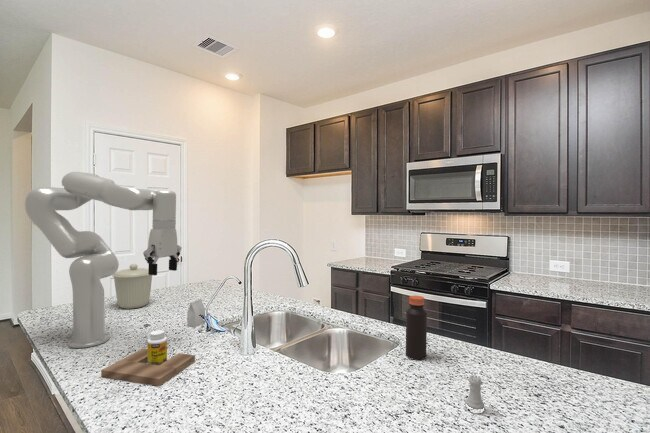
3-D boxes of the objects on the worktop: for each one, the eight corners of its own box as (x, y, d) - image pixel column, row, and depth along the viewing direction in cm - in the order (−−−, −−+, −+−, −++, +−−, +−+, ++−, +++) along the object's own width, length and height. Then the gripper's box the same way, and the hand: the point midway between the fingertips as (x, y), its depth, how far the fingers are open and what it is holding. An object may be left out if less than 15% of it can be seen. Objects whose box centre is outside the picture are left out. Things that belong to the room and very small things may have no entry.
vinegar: (427, 354, 118) (428, 296, 118) (424, 362, 112) (425, 300, 112) (407, 350, 121) (408, 293, 121) (403, 358, 115) (404, 298, 114)
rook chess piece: (461, 404, 88) (462, 373, 88) (478, 403, 88) (479, 373, 88) (470, 415, 84) (471, 382, 83) (488, 414, 84) (489, 381, 84)
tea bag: (204, 322, 149) (204, 299, 149) (195, 327, 143) (194, 303, 143) (197, 321, 150) (197, 298, 150) (187, 326, 144) (187, 302, 144)
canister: (129, 300, 183) (129, 260, 182) (161, 301, 180) (161, 261, 180) (103, 310, 165) (103, 266, 164) (138, 312, 162) (137, 267, 162)
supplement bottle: (148, 370, 105) (148, 336, 105) (146, 363, 110) (146, 331, 110) (168, 365, 108) (168, 333, 108) (165, 358, 113) (165, 327, 113)
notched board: (101, 376, 101) (101, 370, 101) (142, 354, 116) (142, 348, 116) (159, 386, 96) (159, 379, 96) (194, 361, 111) (194, 355, 111)
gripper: (172, 223, 133) (171, 267, 134) (136, 225, 117) (135, 276, 117) (189, 224, 131) (188, 269, 132) (154, 226, 115) (153, 278, 115)
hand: (163, 272), depth 124 cm, fingers open, 9 cm apart
